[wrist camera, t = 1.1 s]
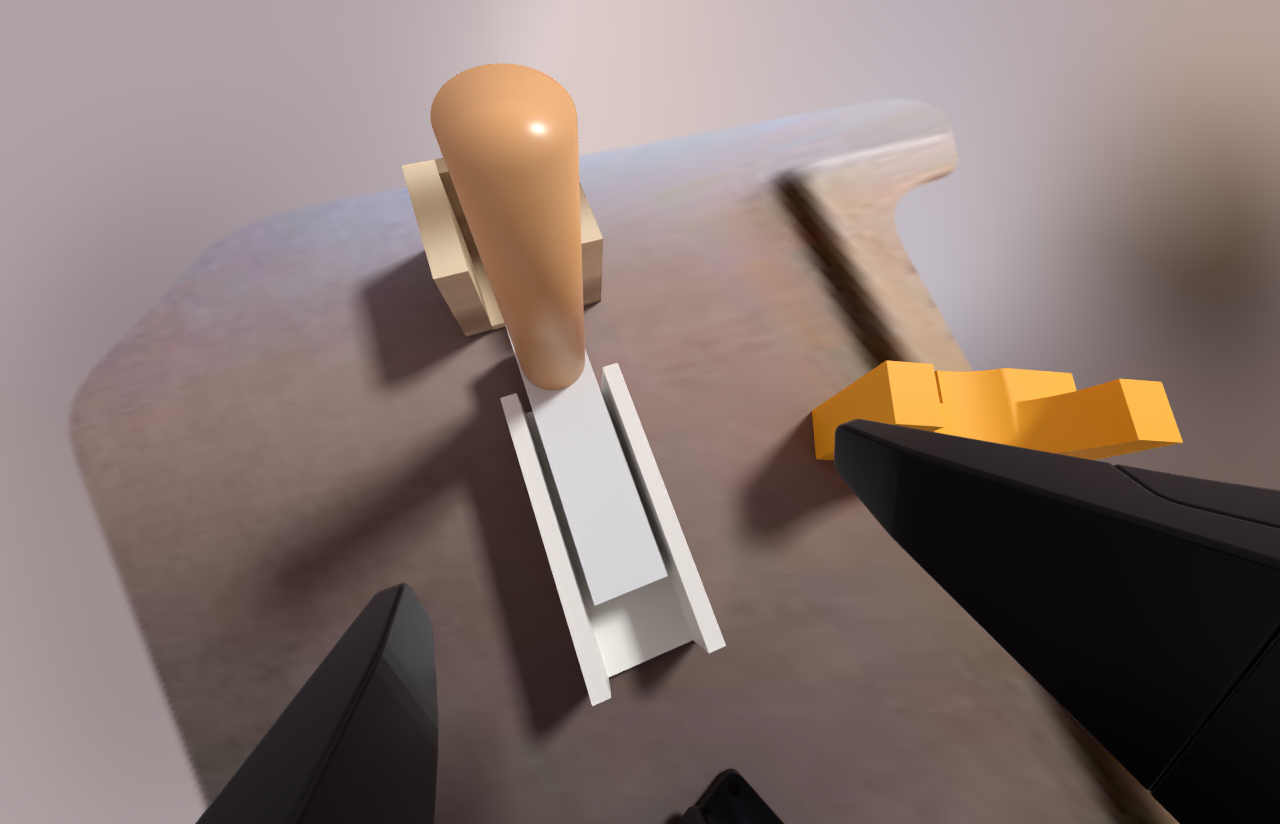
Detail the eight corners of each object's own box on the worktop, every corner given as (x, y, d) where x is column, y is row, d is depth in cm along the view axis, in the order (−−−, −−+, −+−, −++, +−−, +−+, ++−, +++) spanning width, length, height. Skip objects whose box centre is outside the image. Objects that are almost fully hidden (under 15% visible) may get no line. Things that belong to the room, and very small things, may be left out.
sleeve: (705, 632, 20) (725, 645, 17) (592, 682, 19) (592, 706, 16) (614, 388, 23) (617, 362, 20) (512, 420, 22) (499, 398, 19)
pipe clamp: (1013, 395, 25) (1147, 343, 19) (1032, 472, 24) (1182, 442, 18) (807, 380, 24) (880, 321, 18) (814, 459, 23) (895, 423, 17)
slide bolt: (659, 574, 20) (795, 605, 7) (594, 600, 19) (600, 692, 6) (571, 328, 23) (544, 21, 10) (512, 345, 22) (400, 41, 9)
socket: (600, 301, 24) (602, 238, 20) (465, 336, 23) (433, 279, 18) (566, 213, 26) (560, 135, 21) (438, 241, 24) (401, 165, 20)
